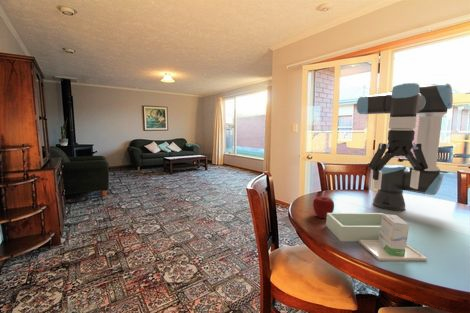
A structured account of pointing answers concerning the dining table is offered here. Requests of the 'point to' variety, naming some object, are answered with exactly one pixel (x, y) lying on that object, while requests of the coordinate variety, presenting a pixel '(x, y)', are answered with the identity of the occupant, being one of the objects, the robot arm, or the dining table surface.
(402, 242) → the ink box
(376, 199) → the robot arm
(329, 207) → the apple
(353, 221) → the box
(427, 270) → the dining table surface
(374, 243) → the tray
